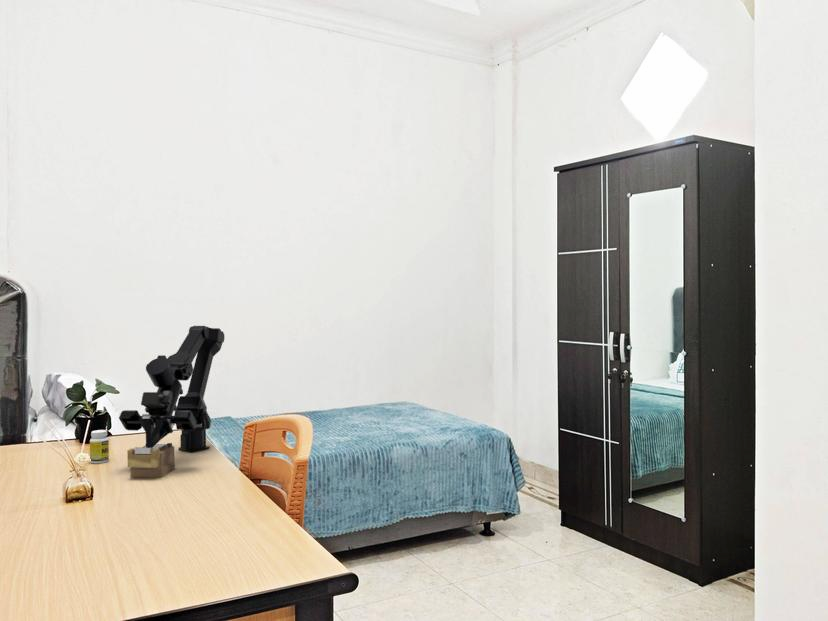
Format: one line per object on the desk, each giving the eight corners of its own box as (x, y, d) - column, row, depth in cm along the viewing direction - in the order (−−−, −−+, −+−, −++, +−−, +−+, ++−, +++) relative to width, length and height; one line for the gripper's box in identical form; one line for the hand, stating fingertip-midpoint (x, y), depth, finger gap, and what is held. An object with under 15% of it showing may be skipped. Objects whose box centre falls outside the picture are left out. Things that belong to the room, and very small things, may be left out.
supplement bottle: (103, 463, 185) (103, 432, 185) (86, 463, 185) (86, 433, 185) (112, 459, 190) (111, 429, 190) (95, 459, 190) (94, 429, 190)
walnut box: (145, 468, 180) (144, 441, 180) (174, 468, 179) (174, 441, 179) (126, 479, 170) (125, 450, 169) (157, 479, 169) (157, 450, 169)
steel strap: (151, 445, 179) (151, 440, 179) (166, 446, 179) (166, 440, 179) (134, 453, 170) (134, 447, 170) (150, 454, 170) (150, 448, 170)
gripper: (121, 379, 178) (100, 429, 168) (191, 379, 177) (174, 430, 167) (136, 404, 187) (116, 454, 176) (203, 405, 185) (187, 455, 175)
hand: (148, 448), depth 173 cm, fingers closed, pressing on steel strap
